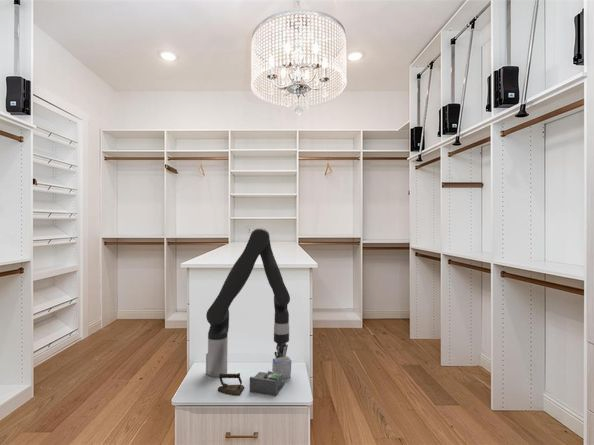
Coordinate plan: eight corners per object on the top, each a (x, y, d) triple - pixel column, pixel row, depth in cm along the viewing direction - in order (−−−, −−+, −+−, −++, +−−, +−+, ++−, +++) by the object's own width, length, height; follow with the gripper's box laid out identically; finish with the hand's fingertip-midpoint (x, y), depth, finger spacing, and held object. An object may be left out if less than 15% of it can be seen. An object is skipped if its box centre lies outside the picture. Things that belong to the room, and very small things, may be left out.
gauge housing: (249, 391, 142) (249, 377, 142) (260, 381, 153) (260, 367, 153) (275, 396, 139) (275, 381, 139) (284, 384, 149) (284, 371, 149)
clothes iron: (241, 397, 139) (235, 374, 138) (216, 401, 140) (210, 379, 140) (246, 387, 146) (240, 366, 145) (222, 392, 147) (216, 370, 147)
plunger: (260, 387, 144) (260, 376, 144) (268, 378, 152) (268, 368, 152) (276, 389, 142) (276, 378, 142) (283, 381, 150) (283, 370, 150)
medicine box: (287, 373, 160) (287, 355, 160) (290, 377, 156) (291, 359, 156) (271, 376, 157) (272, 358, 156) (275, 380, 153) (276, 362, 152)
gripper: (279, 327, 171) (278, 361, 170) (269, 334, 158) (268, 371, 157) (293, 328, 168) (292, 363, 168) (284, 336, 156) (283, 373, 155)
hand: (281, 367), depth 163 cm, fingers closed
